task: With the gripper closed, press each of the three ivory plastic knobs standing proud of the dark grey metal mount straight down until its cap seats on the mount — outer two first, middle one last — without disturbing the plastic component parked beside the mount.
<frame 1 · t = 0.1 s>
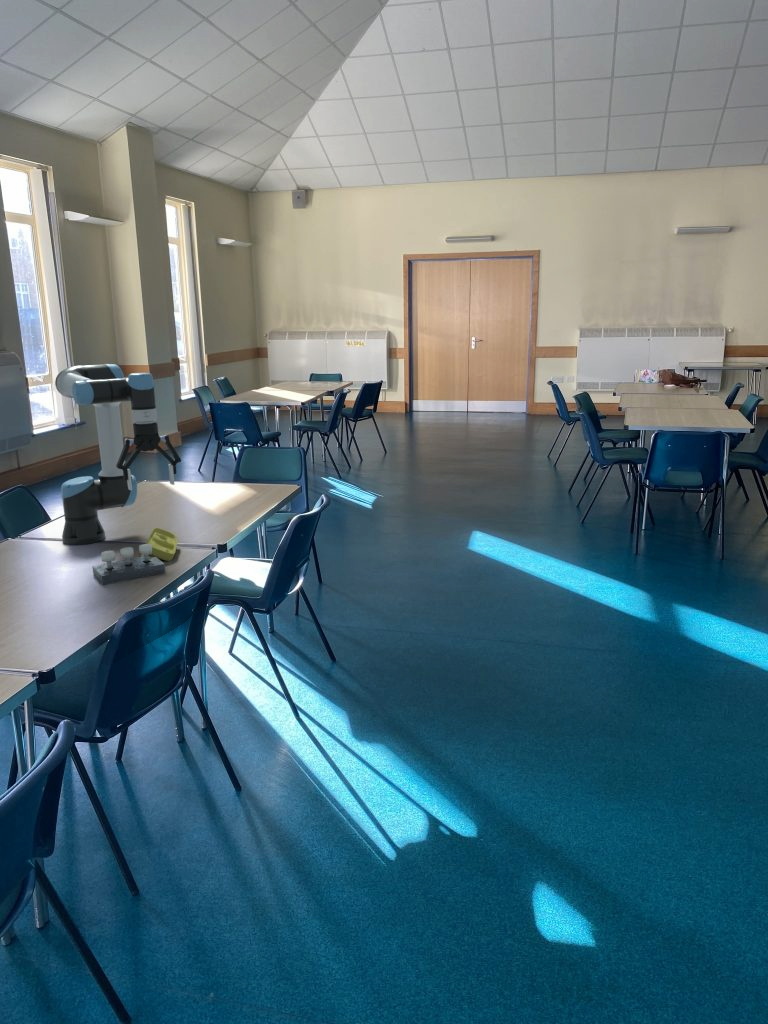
hand: (151, 486, 246), 28 cm above the table, fingers open, 13 cm apart
knob 1: (108, 560, 243), point 6 cm above the table, slide at 0.0 cm
mount: (129, 573, 247), on the table
knob mid: (127, 556, 246), point 6 cm above the table, slide at 0.0 cm
plastic component: (161, 555, 267), on the table
knob 2: (145, 553, 249), point 6 cm above the table, slide at 0.0 cm
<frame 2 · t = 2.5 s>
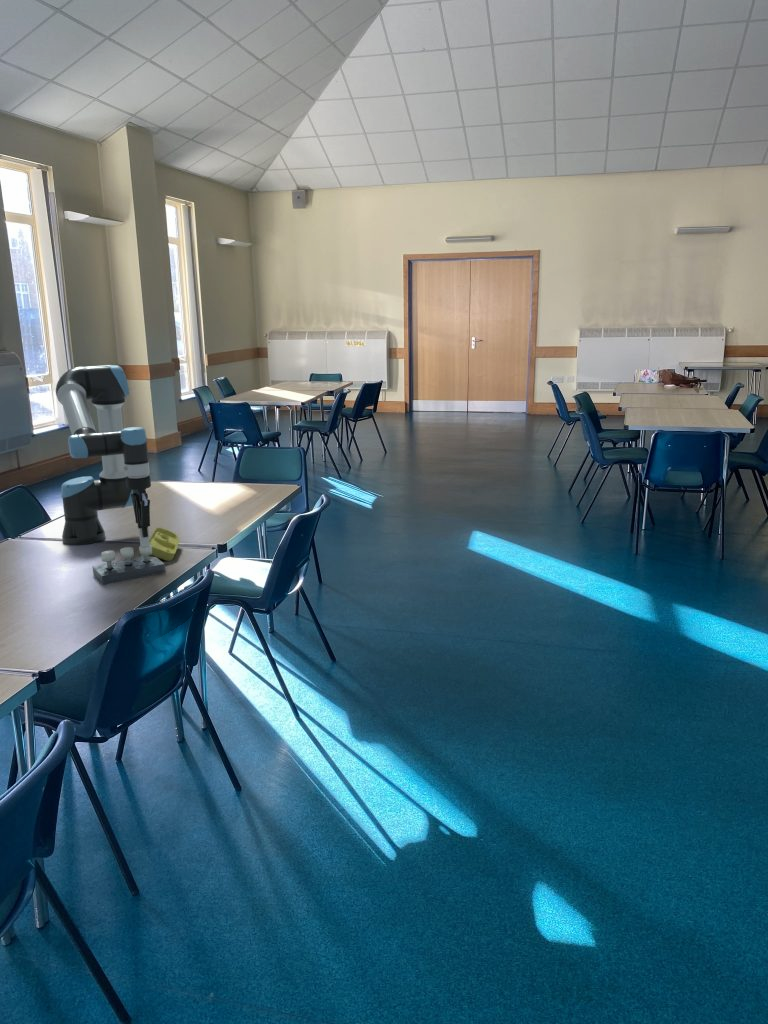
hand: (145, 545, 248), 9 cm above the table, fingers closed
knob 2: (146, 553, 249), point 6 cm above the table, slide at 0.2 cm, touching gripper
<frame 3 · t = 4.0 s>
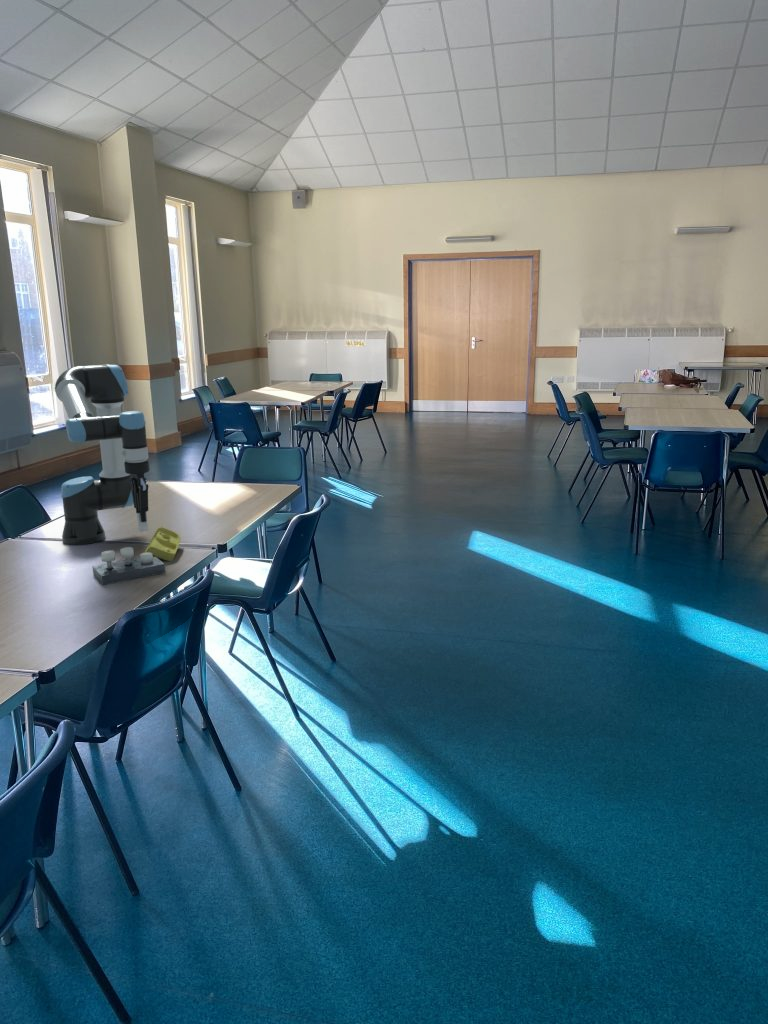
hand: (143, 530, 247), 14 cm above the table, fingers closed
knob 2: (146, 561, 250), point 3 cm above the table, slide at 3.0 cm
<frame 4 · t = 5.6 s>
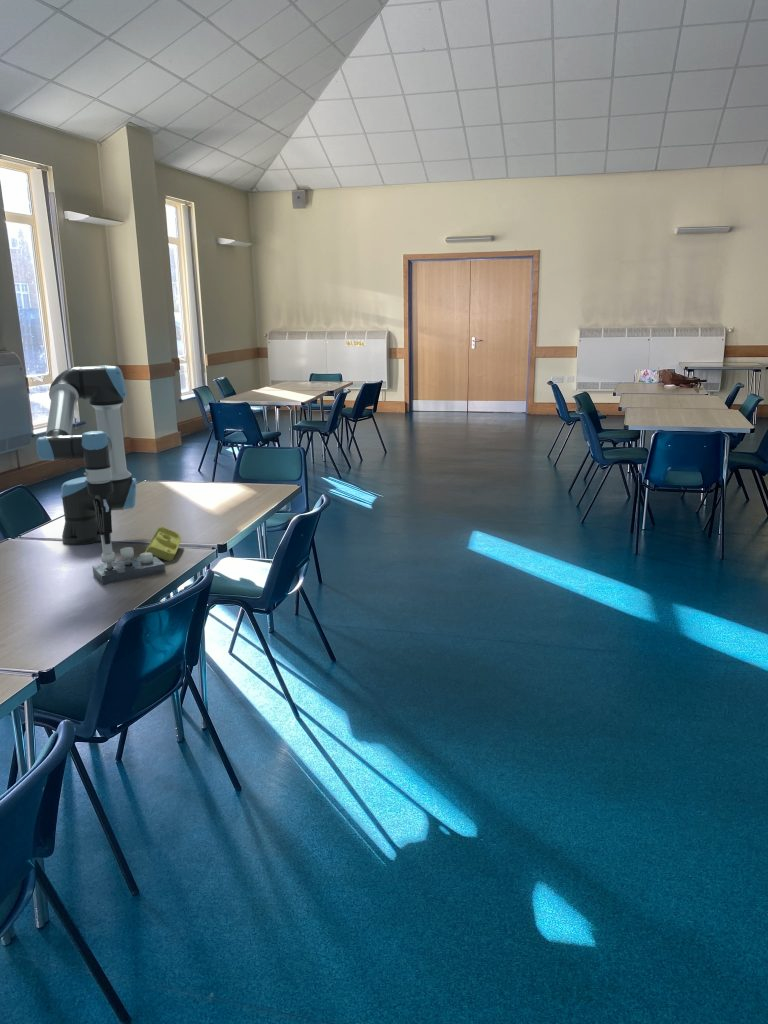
hand: (107, 552, 242), 8 cm above the table, fingers closed
knob 1: (108, 561, 243), point 6 cm above the table, slide at 0.3 cm, touching gripper
everything else where it was.
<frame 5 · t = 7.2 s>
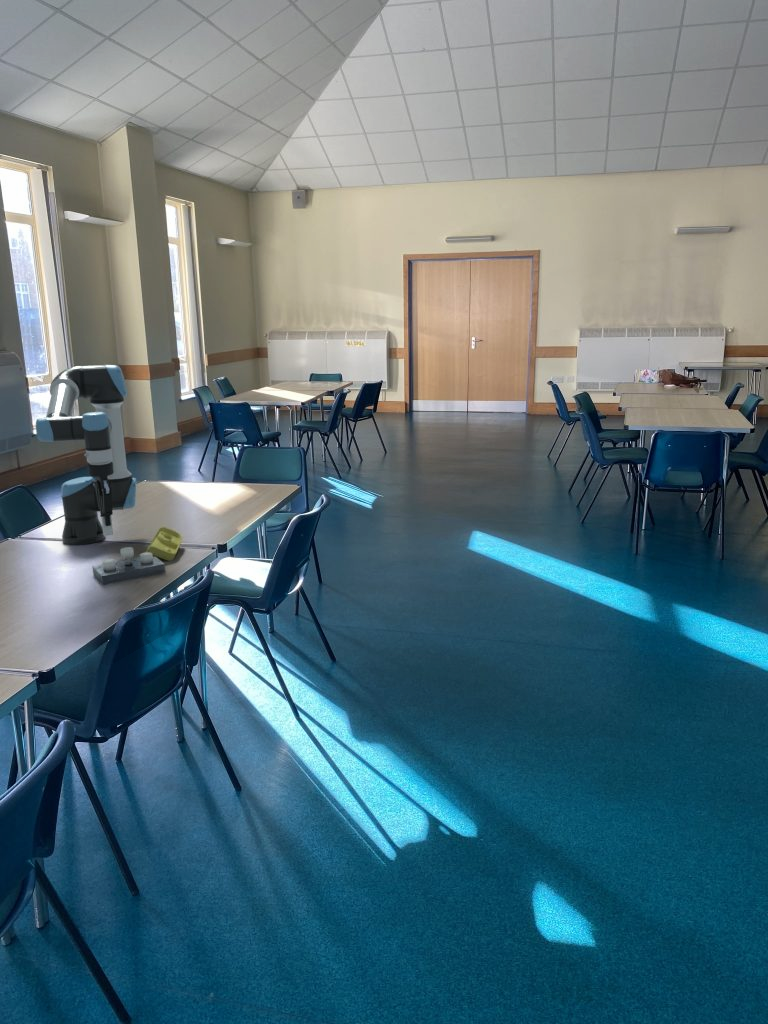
hand: (108, 534, 241), 14 cm above the table, fingers closed
knob 1: (109, 569, 243), point 3 cm above the table, slide at 3.0 cm
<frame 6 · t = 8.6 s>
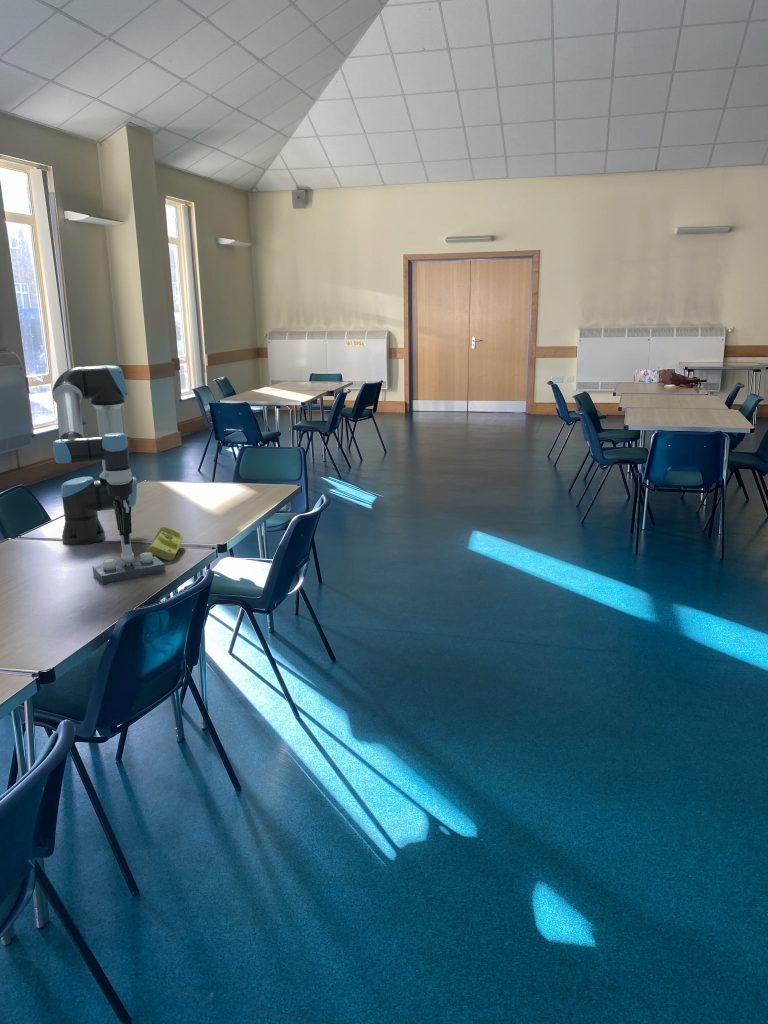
hand: (127, 552, 245), 7 cm above the table, fingers closed
knob mid: (128, 561, 246), point 4 cm above the table, slide at 1.5 cm, touching gripper
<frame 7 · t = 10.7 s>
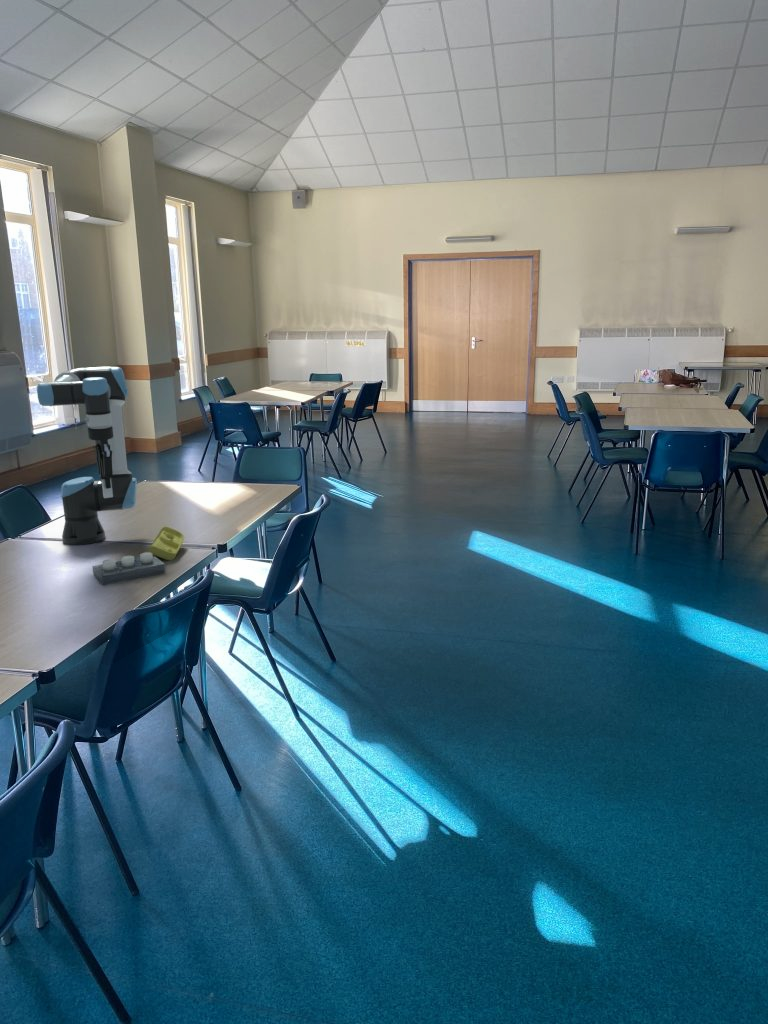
hand: (108, 497, 248), 24 cm above the table, fingers closed
knob mid: (128, 565, 247), point 3 cm above the table, slide at 3.0 cm
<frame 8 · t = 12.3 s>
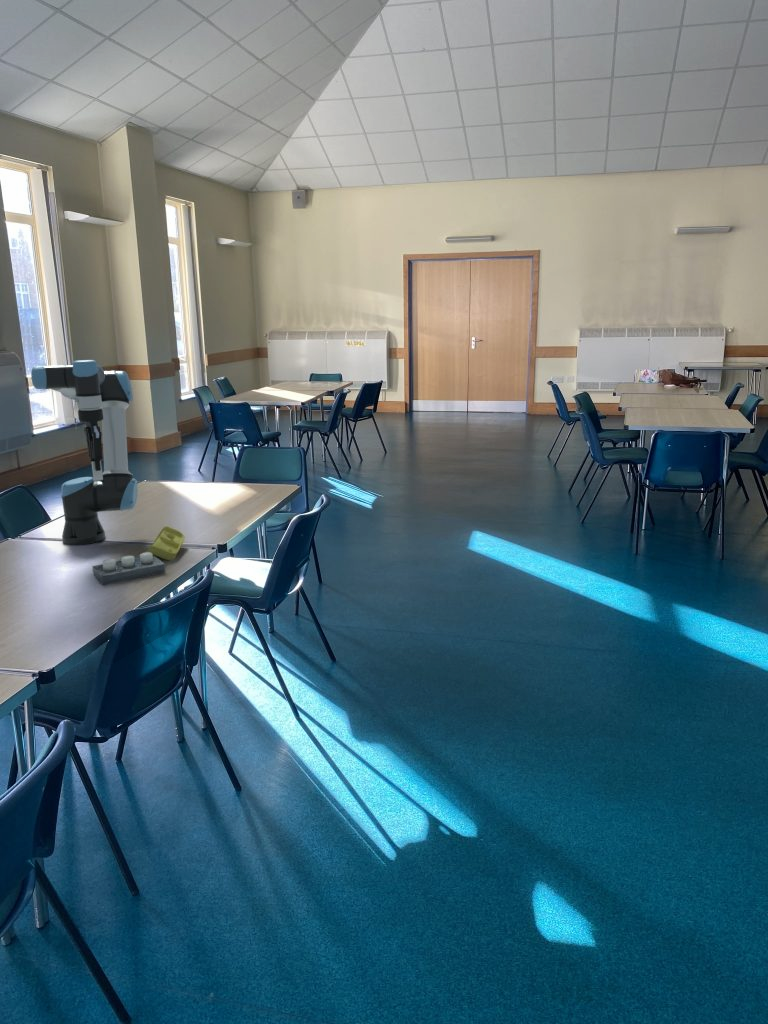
hand: (98, 479, 250), 29 cm above the table, fingers closed
at the end: knob 2 slide at 3.0 cm; knob 1 slide at 3.0 cm; knob mid slide at 3.0 cm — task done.
